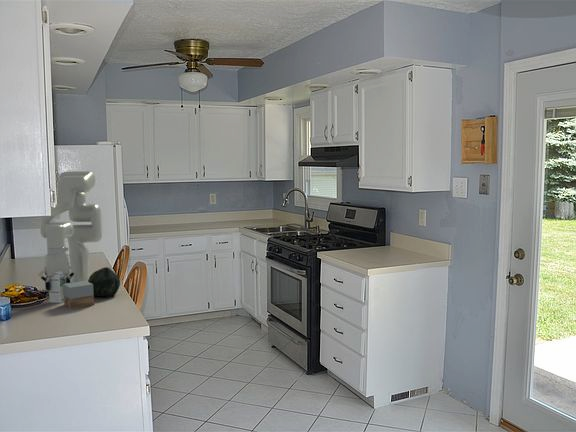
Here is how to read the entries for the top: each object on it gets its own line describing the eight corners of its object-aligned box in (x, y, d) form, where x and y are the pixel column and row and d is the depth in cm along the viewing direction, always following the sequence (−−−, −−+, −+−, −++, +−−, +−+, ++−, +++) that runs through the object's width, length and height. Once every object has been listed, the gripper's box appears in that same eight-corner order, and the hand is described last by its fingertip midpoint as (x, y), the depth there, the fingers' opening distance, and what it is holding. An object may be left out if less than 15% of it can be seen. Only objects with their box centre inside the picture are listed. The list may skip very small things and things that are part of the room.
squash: (87, 281, 261) (87, 262, 251) (119, 280, 266) (120, 261, 256) (87, 305, 252) (87, 287, 241) (120, 304, 257) (121, 285, 247)
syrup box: (60, 303, 241) (59, 271, 240) (49, 302, 243) (47, 271, 241) (68, 300, 247) (66, 269, 246) (57, 299, 248) (55, 269, 247)
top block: (63, 294, 238) (62, 283, 237) (85, 291, 244) (85, 280, 244) (70, 298, 230) (70, 287, 230) (93, 295, 237) (93, 284, 236)
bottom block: (64, 305, 239) (63, 294, 238) (86, 301, 245) (86, 291, 244) (71, 310, 231) (70, 298, 230) (94, 306, 237) (93, 295, 237)
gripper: (73, 248, 251) (75, 284, 253) (33, 252, 240) (35, 290, 242) (78, 250, 245) (80, 287, 247) (38, 254, 234) (40, 293, 236)
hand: (58, 288), depth 244 cm, fingers closed on syrup box, 8 cm apart
